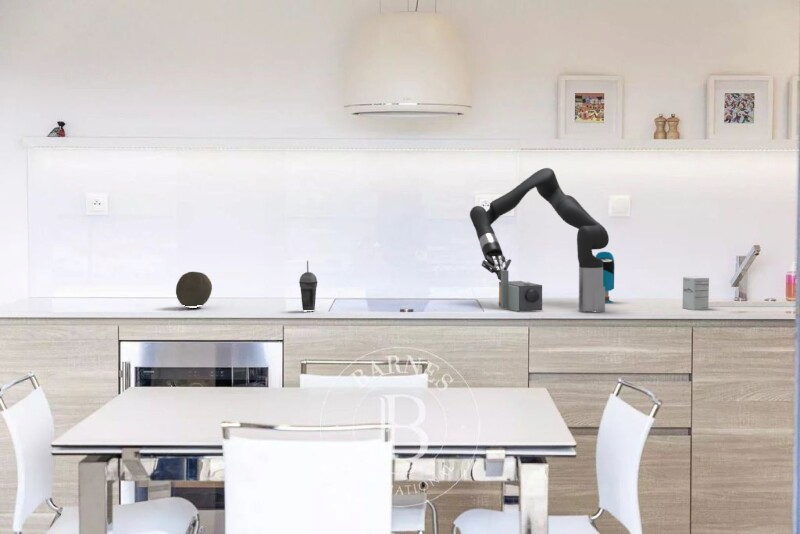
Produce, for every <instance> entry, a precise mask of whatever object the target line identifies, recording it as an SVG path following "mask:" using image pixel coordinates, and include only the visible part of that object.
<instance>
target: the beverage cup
mask: <svg viewBox="0 0 800 534" xmlns="http://www.w3.org/2000/svg"><path fill="white" fill-rule="evenodd" d="M298 283H299V288H300V293H301V294H300V297H301V305H302V307H301V308H302V311H303V310H314V311H315V308H316V295H317V288H318V279H317V276H316V275H315V274H314V273H313V272H310V271H309V260H306V272H304V273H302V274H301V275H300V278H299V282H298Z"/></svg>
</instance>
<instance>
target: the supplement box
mask: <svg viewBox="0 0 800 534" xmlns="http://www.w3.org/2000/svg"><path fill="white" fill-rule="evenodd" d="M709 288H710V277H704V276H697V275H695V276H683V277H682V308H683V309H687V310H692V311H702V310H703V311H704V310H705V311H706V310H709V302H710V301H709V299H710V298H709V297H710V296H709V295H710V289H709Z"/></svg>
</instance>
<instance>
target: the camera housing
mask: <svg viewBox="0 0 800 534" xmlns="http://www.w3.org/2000/svg"><path fill="white" fill-rule="evenodd" d="M508 285H512V286H517V287H519V311H518V312H520V311H521V312H533V311H532V310H542V311H543V285H542V284H538V283H534V282H533V283H532V282H530V281H522V280H516V281H515V280H513V281H509V280H508ZM498 289H499V290H498V306H499V307H500V308H501V281H498Z"/></svg>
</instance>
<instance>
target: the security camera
mask: <svg viewBox="0 0 800 534" xmlns="http://www.w3.org/2000/svg"><path fill="white" fill-rule="evenodd" d="M595 257H596V258H599V259H601V260H603V287H605V304H614V302H613V300H610V296H609V291H613V290H614V289H615V259H614V255H613V254H612V253H611V252H610V251H600V252H598V253H596V255H595Z"/></svg>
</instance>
